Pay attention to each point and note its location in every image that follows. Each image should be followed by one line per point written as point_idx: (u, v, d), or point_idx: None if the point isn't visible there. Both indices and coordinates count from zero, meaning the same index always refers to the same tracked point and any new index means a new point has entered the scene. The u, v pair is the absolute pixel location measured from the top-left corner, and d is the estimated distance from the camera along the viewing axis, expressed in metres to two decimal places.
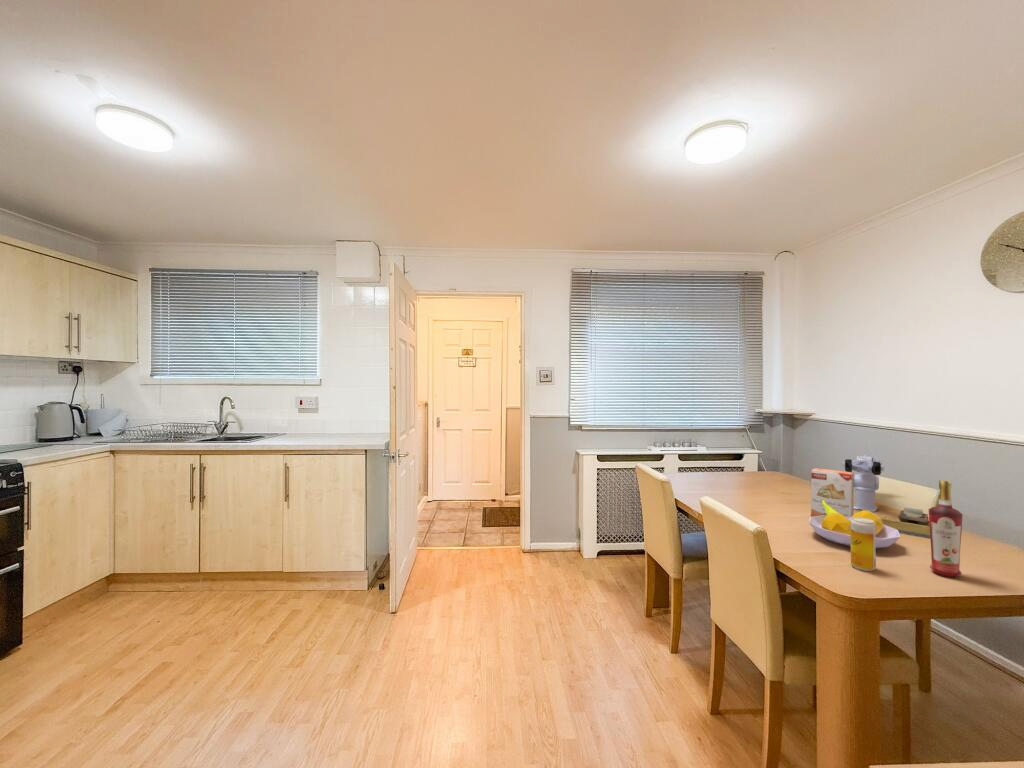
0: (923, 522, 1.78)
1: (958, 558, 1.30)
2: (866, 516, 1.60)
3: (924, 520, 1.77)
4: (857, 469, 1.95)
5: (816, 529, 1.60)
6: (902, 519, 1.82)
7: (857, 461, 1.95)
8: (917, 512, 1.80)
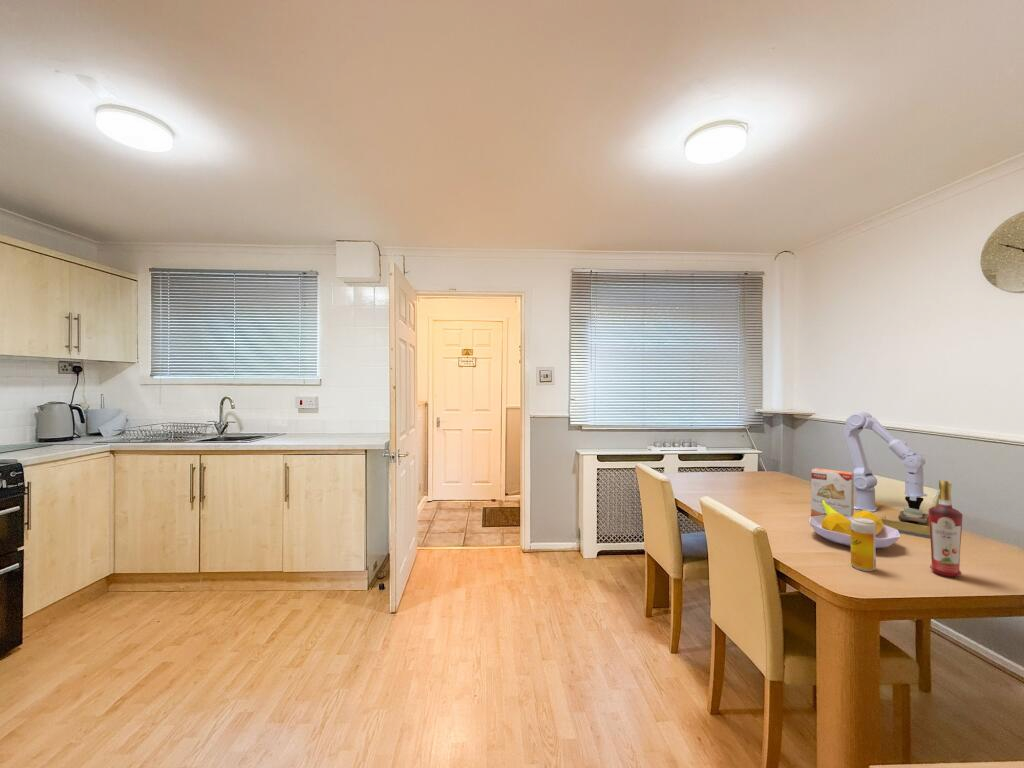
0: (923, 522, 1.77)
1: (958, 558, 1.30)
2: (866, 516, 1.60)
3: (924, 520, 1.77)
4: None
5: (816, 529, 1.60)
6: (902, 519, 1.82)
7: None
8: (917, 512, 1.80)
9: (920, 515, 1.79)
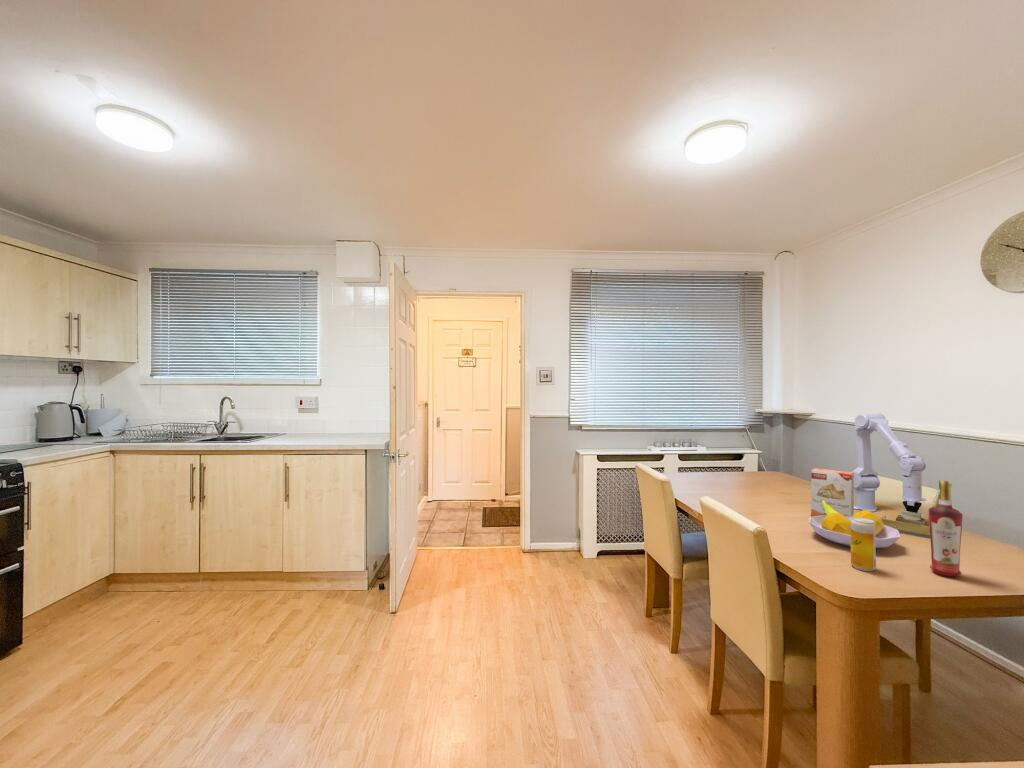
0: None
1: (958, 558, 1.30)
2: (866, 516, 1.60)
3: (922, 523, 1.69)
4: None
5: (816, 529, 1.60)
6: None
7: (918, 501, 1.77)
8: (915, 515, 1.72)
9: (918, 518, 1.72)
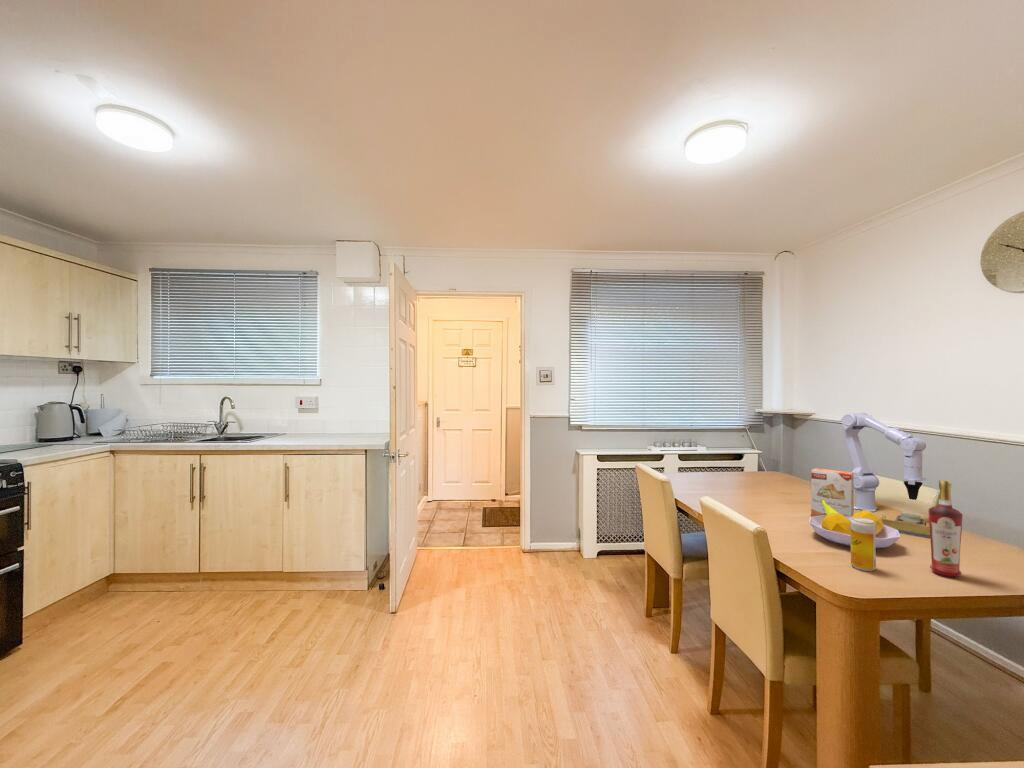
0: None
1: (958, 558, 1.30)
2: (866, 516, 1.60)
3: None
4: None
5: (816, 529, 1.60)
6: None
7: None
8: (915, 517, 1.69)
9: (918, 520, 1.69)
